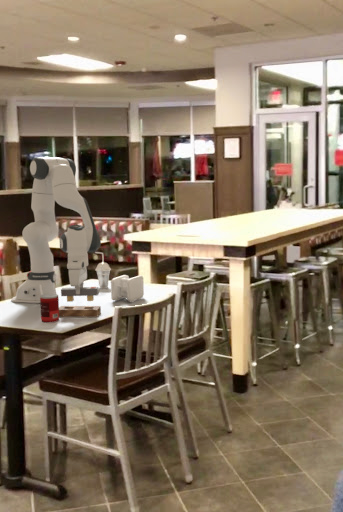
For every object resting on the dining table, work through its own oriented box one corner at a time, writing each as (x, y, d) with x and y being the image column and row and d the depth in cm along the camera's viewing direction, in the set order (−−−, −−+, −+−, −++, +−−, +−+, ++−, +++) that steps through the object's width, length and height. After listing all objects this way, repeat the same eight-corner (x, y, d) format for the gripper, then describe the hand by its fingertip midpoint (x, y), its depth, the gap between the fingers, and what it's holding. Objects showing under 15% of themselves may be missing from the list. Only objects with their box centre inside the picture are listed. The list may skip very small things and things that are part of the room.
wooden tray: (56, 316, 302) (56, 309, 302) (61, 312, 310) (61, 305, 310) (97, 316, 301) (97, 309, 300) (100, 312, 309) (100, 306, 308)
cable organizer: (129, 303, 328) (128, 279, 326) (110, 302, 332) (109, 278, 331) (144, 298, 341) (143, 275, 340) (125, 296, 346) (125, 273, 344)
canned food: (60, 318, 298) (59, 293, 297) (57, 322, 291) (57, 297, 289) (42, 318, 298) (41, 293, 297) (39, 322, 290) (38, 297, 289)
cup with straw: (112, 288, 368) (111, 251, 365) (95, 289, 366) (94, 252, 363) (110, 285, 376) (109, 249, 373) (93, 286, 374) (92, 250, 371)
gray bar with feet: (61, 301, 303) (60, 288, 302) (63, 300, 307) (62, 287, 306) (97, 301, 302) (96, 287, 301) (99, 299, 306) (98, 286, 305)
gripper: (75, 259, 313) (77, 288, 315) (66, 265, 293) (67, 297, 294) (89, 258, 312) (90, 288, 314) (80, 265, 292) (82, 297, 294)
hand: (79, 293), depth 304 cm, fingers closed on gray bar with feet, 4 cm apart
